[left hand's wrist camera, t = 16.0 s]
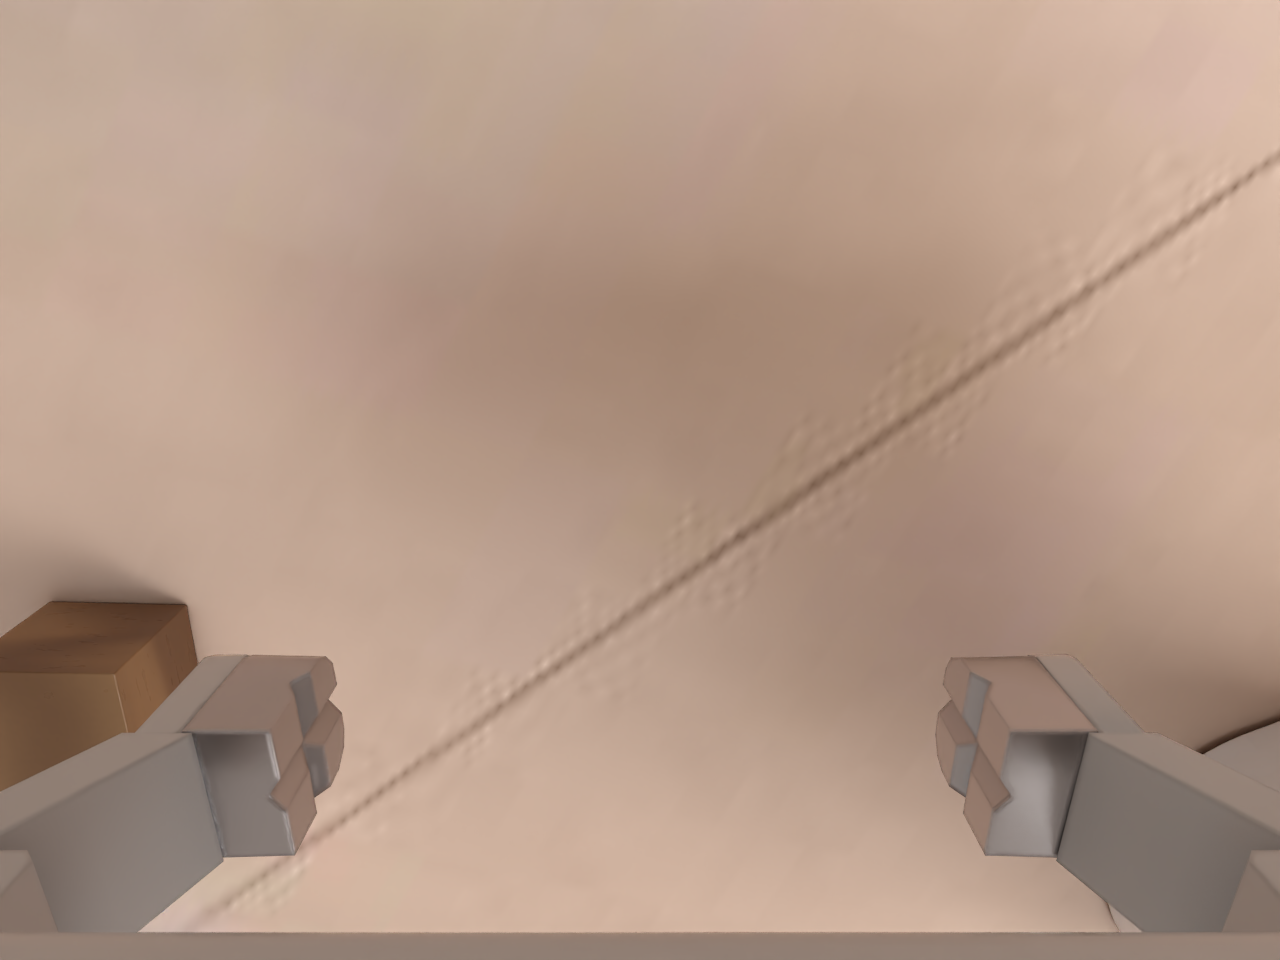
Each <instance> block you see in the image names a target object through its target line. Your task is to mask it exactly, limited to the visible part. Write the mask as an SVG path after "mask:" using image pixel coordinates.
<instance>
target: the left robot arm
mask: <svg viewBox="0 0 1280 960" xmlns="http://www.w3.org/2000/svg"><path fill="white" fill-rule="evenodd" d="M336 685H337V682H336V677H335V672H334V667H333V663H332V662H331V661H330V660H329V659H328V658H327V657H326V656H281V655H251V656H249V655H213V656H209V657H205V658H204V659H203V660H202V661H201V662H200V663H199V664H198V665H197V666H196V667H195V668H194V670H193V671H192V672H191V673H190V674H189V675H188V676H187V677H186V678H185V679H184V680H183V681H182V682H181V683H180V685H179V686H178V687H177V688H176V689H175V690H174V691H173V692H172V693H171V694H170V695H169V696H168V697H167V699H166V700H165V701H164V702H163V703H162V704H161V705H160V706H159V707H158V708H157V709H156V710H155V711H154V713H153V714H152V715H151V716H150V717H149V718H148V719H147V720H146V721H145V722H144V723H143V724H142V725H141V727H140V728H139V729H138V730H137V731H136V732H135V733H121V734H119V735H116V736H114V737H112V738H110V739H108V740H106V741H104V742H102V743H100V744H98V745H96V746H94V747H92V748H90V749H88V750H85V751H83V752H81V753H79V754H77V755H75V756H73V757H71V758H69V759H67V760H65V761H63V762H61V763H59V764H56V765H54V766H52V767H50V768H48V769H46V770H44V771H42V772H40V773H38V774H36V775H34V776H32V777H30V778H28V779H25V780H23V781H21V782H19V783H17V784H15V785H13V786H11V787H9V788H7V789H5V790H3V791H1V792H0V960H1280V721H1278V722H1276V723H1273V724H1271V725H1268V726H1265V727H1262V728H1260V729H1257V730H1254V731H1252V732H1249V733H1246V734H1244V735H1241V736H1239V737H1236V738H1234V739H1232V740H1229V741H1227V742H1225V743H1223V744H1221V745H1219V746H1217V747H1215V748H1214V749H1212V750H1210V751H1208V752H1206V753H1204V754H1201V753H1199V752H1197V751H1194V750H1192V749H1190V748H1188V747H1186V746H1184V745H1182V744H1180V743H1178V742H1176V741H1174V740H1172V739H1170V738H1168V737H1166V736H1164V735H1161V734H1159V733H1145V732H1144V731H1143V730H1142V729H1141V728H1140V726H1139V725H1138V724H1137V723H1136V722H1135V721H1134V720H1133V719H1132V718H1131V717H1130V716H1129V715H1128V714H1127V712H1126V711H1125V710H1124V709H1123V708H1122V707H1121V706H1120V705H1119V704H1118V703H1117V702H1116V701H1115V700H1114V698H1113V697H1112V696H1111V695H1110V694H1109V693H1108V692H1107V691H1106V690H1105V689H1104V688H1103V687H1102V686H1101V684H1100V683H1099V682H1098V681H1097V680H1096V679H1095V678H1094V677H1093V676H1092V675H1091V674H1090V673H1089V672H1088V670H1087V669H1086V668H1085V667H1084V666H1083V665H1082V664H1081V663H1080V662H1079V661H1078V660H1077V659H1076V658H1074V657H1072V656H1069V655H1067V654H1057V655H1028V656H1007V657H955V658H951V659H950V661H949V663H948V665H947V667H946V670H945V676H944V681H943V685H944V687H945V689H946V690H947V692H948V694H949V695H950V697H951V700H950V701H949V702H948V703H947V704H946V705H945V706H944V707H943V708H942V709H941V710H940V712H939V713H938V718H937V726H936V734H935V735H936V746H937V756H938V759H939V763H940V766H941V770H942V772H943V774H944V776H945V778H946V780H947V782H948V785H949V786H950V787H951V788H953V789H954V790H955V791H957V792H958V793H960V794H961V795H963V796H964V797H965V798H966V799H965V805H964V811H963V814H964V816H965V818H966V820H967V822H968V823H969V825H970V827H971V829H972V831H973V833H974V835H975V837H976V839H977V841H978V843H979V844H980V846H981V848H982V850H983V852H984V854H985V855H990V856H1025V857H1057V860H1056V861H1057V862H1058V863H1060V864H1061V865H1062V866H1063V867H1065V868H1066V869H1067V870H1068V871H1069V872H1071V873H1072V874H1073V875H1074V876H1075V877H1077V878H1078V879H1079V880H1080V881H1082V882H1083V883H1084V884H1085V885H1086V886H1088V887H1089V888H1090V889H1091V890H1092V891H1094V892H1095V893H1096V894H1097V895H1098V896H1100V897H1101V898H1102V899H1103V900H1105V901H1106V902H1107V903H1108V904H1109V908H1110V912H1111V915H1112V917H1113V920H1114V922H1115V924H1116V926H1117V927H1118V929H1119V931H1120V932H1117V933H991V932H658V933H195V932H138V931H139V930H141V929H142V928H143V927H144V926H145V925H147V924H148V923H149V922H150V921H151V920H153V919H154V918H155V917H156V916H158V915H159V914H160V913H161V912H162V911H164V910H165V909H166V908H167V907H168V906H170V905H171V904H172V903H173V902H175V901H176V900H177V899H178V898H179V897H181V896H182V895H183V894H184V893H185V892H187V891H188V890H189V889H190V888H192V887H193V886H194V885H195V884H196V883H198V882H199V881H200V880H201V879H202V878H204V877H205V876H206V875H207V874H209V873H210V872H211V871H212V870H213V869H215V868H216V867H217V866H218V865H219V864H221V863H222V862H223V857H253V856H288V855H295V854H296V852H297V850H298V848H299V847H300V845H301V843H302V841H303V839H304V837H305V835H306V833H307V831H308V829H309V827H310V825H311V823H312V822H313V820H314V818H315V816H316V814H317V810H316V805H315V799H314V798H315V797H316V796H317V795H319V794H320V793H322V792H323V791H325V790H326V789H327V788H329V787H330V786H331V785H332V782H333V780H334V778H335V776H336V774H337V772H338V770H339V767H340V762H341V758H342V753H343V749H344V724H343V717H342V713H341V711H340V710H339V709H338V708H337V707H336V706H335V705H334V704H333V703H332V702H331V701H330V700H329V697H330V696H331V694H332V692H333V690H334V689H335V687H336Z"/></svg>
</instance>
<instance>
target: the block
mask: <svg viewBox="0 0 1280 960" xmlns="http://www.w3.org/2000/svg"><path fill="white" fill-rule="evenodd" d="M197 665H198V664H197V659H196V654H195V648H194V643H193V638H192V632H191V627H190V622H189V616H188V611H187V606H186V605H169V604H125V603H81V602H49V603H48V604H46V605H45V606H43V607H42V608H41V609H39V610H38V611H36V612H35V613H34V614H32V615H31V616H30V617H28V618H27V619H25V620H24V621H23V622H21V623H20V624H18V625H17V626H16V627H14V628H13V629H12V630H10V631H9V632H7V633H6V634H5V635H3V636H2V637H0V792H1V791H3V790H5V789H7V788H9V787H11V786H13V785H15V784H17V783H19V782H21V781H23V780H25V779H28V778H30V777H32V776H34V775H36V774H38V773H40V772H42V771H44V770H46V769H48V768H50V767H52V766H54V765H56V764H59V763H61V762H63V761H65V760H67V759H69V758H71V757H73V756H75V755H77V754H79V753H81V752H83V751H85V750H88V749H90V748H92V747H94V746H96V745H98V744H100V743H102V742H104V741H106V740H108V739H110V738H112V737H114V736H116V735H119V734H121V733H135V732H136V731H137V730H138V729H139V728H140V727H141V725H142V724H143V723H144V722H145V721H146V720H147V719H148V718H149V717H150V716H151V715H152V714H153V713H154V711H155V710H156V709H157V708H158V707H159V706H160V705H161V704H162V703H163V702H164V701H165V700H166V699H167V697H168V696H169V695H170V694H171V693H172V692H173V691H174V690H175V689H176V688H177V687H178V686H179V685H180V683H181V682H182V681H183V680H184V679H185V678H186V677H187V676H188V675H189V674H190V673H191V672H192V671H193V670H194V668H195V667H196V666H197Z"/></svg>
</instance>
